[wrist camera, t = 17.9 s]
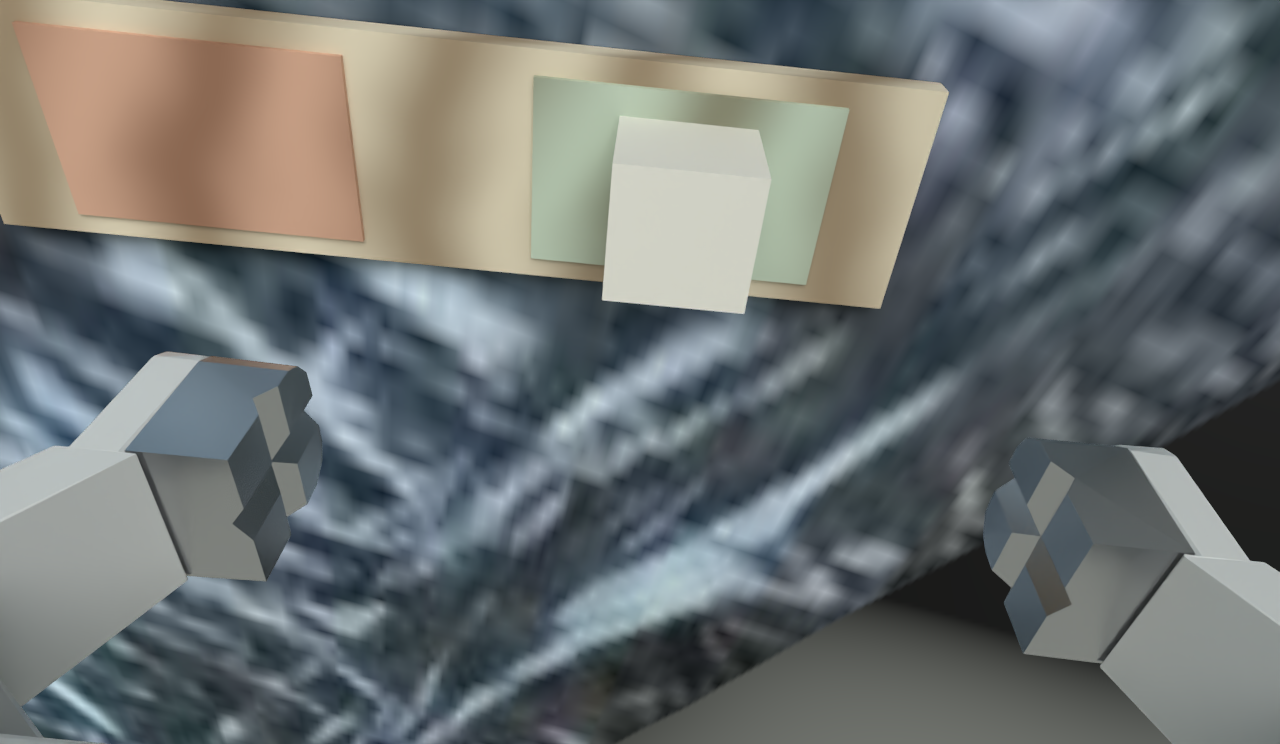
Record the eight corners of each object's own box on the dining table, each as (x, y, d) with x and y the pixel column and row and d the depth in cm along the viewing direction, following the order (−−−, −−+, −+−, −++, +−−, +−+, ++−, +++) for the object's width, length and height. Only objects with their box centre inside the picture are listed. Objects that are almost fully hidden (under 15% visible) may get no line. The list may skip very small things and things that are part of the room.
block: (758, 130, 26) (771, 179, 23) (735, 254, 28) (744, 314, 25) (619, 115, 26) (612, 162, 22) (609, 241, 28) (602, 300, 25)
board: (940, 82, 26) (951, 94, 25) (874, 294, 31) (881, 311, 30) (-71, -25, 25) (-101, -17, 24) (22, 211, 30) (0, 226, 29)
